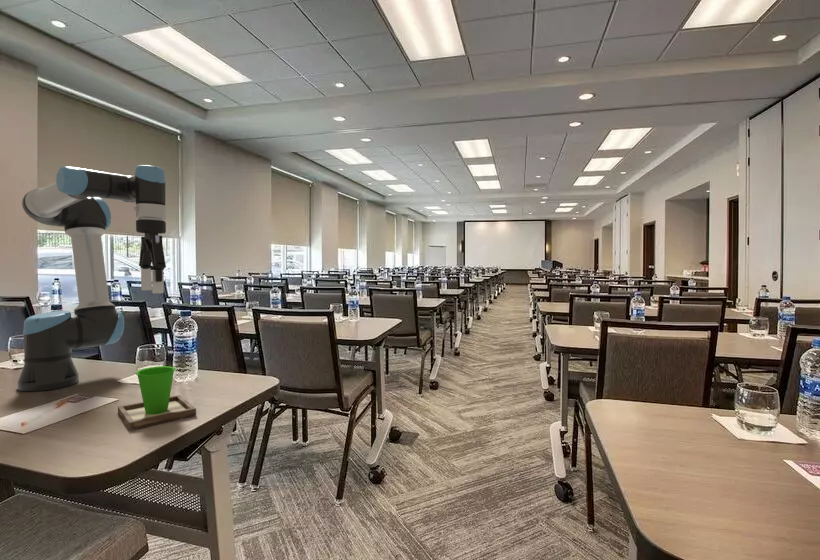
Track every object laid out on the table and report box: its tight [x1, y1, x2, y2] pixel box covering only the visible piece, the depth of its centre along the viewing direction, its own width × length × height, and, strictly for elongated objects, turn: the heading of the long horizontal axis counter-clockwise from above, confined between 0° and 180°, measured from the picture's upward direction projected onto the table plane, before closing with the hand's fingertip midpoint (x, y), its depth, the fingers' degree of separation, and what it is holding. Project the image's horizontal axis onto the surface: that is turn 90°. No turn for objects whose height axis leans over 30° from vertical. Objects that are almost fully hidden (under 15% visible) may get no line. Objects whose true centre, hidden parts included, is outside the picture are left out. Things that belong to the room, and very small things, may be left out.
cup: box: [135, 365, 176, 414], centre depth 113 cm, size 9×9×11 cm
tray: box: [117, 394, 197, 432], centre depth 114 cm, size 15×15×2 cm
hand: (152, 291), depth 127 cm, fingers open, 13 cm apart
